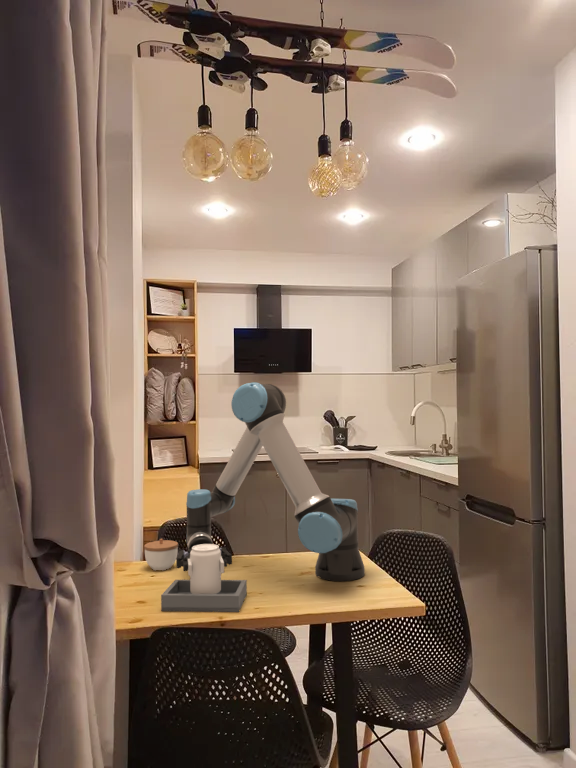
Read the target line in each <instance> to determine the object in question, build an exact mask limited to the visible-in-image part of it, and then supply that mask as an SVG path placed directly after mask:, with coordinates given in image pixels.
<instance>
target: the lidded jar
mask: <svg viewBox="0 0 576 768" xmlns="http://www.w3.org/2000/svg"><path fill="white" fill-rule="evenodd" d="M143 547H144V548H143V549H144V557H145V558H144V559H145V561H146V564H147V565H148V566H149V567H150V568H151V570H152V569H153V571H156V570H162V571H167V570H170V569H171V568H172V566H173V565H174V564H175V562H176V558H177V556H178V550H179V542H177V541H176V540H175V541H174V540H168V539H167V540H166V539H165V540H164V538H159V540H154V541H150V542H147V543H146V544H144V546H143ZM169 568H170V569H169ZM166 569H167V570H166Z"/></svg>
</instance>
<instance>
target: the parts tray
mask: <svg viewBox="0 0 576 768" xmlns="http://www.w3.org/2000/svg"><path fill="white" fill-rule="evenodd" d="M247 584H248V583H247V579H221V591H220V592H218V593H217V594H192V593H191V592H190V579H175V580H174V581H173V582H172V583H171V584H170V585H169V586H168V587H167V588H166V589H165V590H164V591H163V592H162V594H161V596H160V599H161V600H160V606H161V608H160V610H161V612H195V613H196V612H197V613H198V612H199V613H200V612H205V613H206V612H211V613H212V612H213V611H214V612H213V613H216V612H218V613H221V612H222V613H223V612H224V613H225V612H227V613H239V612H240V611H241V608H242V607H243V604H244V602H243V601H245V600H246V597H247V595H248V594H247V593H248V592H247V591H248V587H247ZM244 599H245V600H244ZM239 610H240V611H239Z"/></svg>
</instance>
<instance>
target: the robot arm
mask: <svg viewBox="0 0 576 768" xmlns="http://www.w3.org/2000/svg"><path fill="white" fill-rule="evenodd" d="M286 408H287V399H286V396H285V394H284V392H283V391H282V390H281V388H279V387H278V386H276V385H274V384H272V383H260V382H247V383H245V384H242V385H240V386H239V387H238V388H236V390H235V391H234V392H233V395H232V399H231V411H232V414H233V415H234V416H235V418H236V419H237V420H239V421H241V422H242V423H245V425H246V427H245V430H244V432H243V434H242V435H241V437H240V439H239V441H238V443H237V445H236V447H235V448H234V450H233V452H232V454H231V456H230V458H229V460H228V462H227V463H226V465H225V467H224V469H223V470H222V473H221V474H220V476H219V477H218V480H217V482H216V484H215V485H214V487H213V488H212V491H210V489H209V490H208V489H204V488H203V489H201V488H200V489H192V490H191V489H190V490H189V491H188V492H187V494H186V502H185V504H186V536H185V539H186V540H185V541H186V542H185V543H186V544H187V551H185V550H183V549H178V552H177V558H176V561H175V562H176V565H175V566H176V567H175V568H176V569H181V568H182V567H183V569H182V570H183V572H188V577H190V576H192V564H191V561H190V552H191V550H192V547H193V546H196V545H200V544H214V543H213V540H212V517H215V516H218V515H221V514H224V513H227V512H229V511H230V510H232V509H233V507H234V506H235V504H236V494H237V493H238V491H239V489H240V487H241V485H242V484H243V482H244V480H245V478H246V476H247V475H248V474H249V471H250V470H251V468H252V467H253V464H254V462H255V460H256V459H257V457H258V456H259V453H260V451H261V450H262V448H264V450H265V452H266V454H267V455H268V458H269V459H270V461H271V463H272V465H273V467H274V469H275V470H276V471H275V472H276V473H277V475H278V477H279V479H280V480H281V483H283V486H284V488H285V489H286V492H287V493H288V495H289V497H290V499H291V501H292V503H293V505H294V507H295V510H294V514H293V516H294V518H295V520H296V522H297V524H298V528H297V534H298V539H299V540H300V543H301V544H302V545H303V546H304V548H306V549H307V550H308V551H310V552H312V553H316V554H318V557H317V559H316V562H315V567H314V568H315V569H314V570H315V576H316V577H318V578H320V579H322V580H326V581H330V582H331V581H333V582H347V581H356V580H358V579H359V580H360V579H362V578H363V577H364V576H365V575H366V573H365V571H366V570H365V565H364V562H363V561H364V560H363V558H362V555H361V553H360V550H359V522H358V521H359V519H358V518H359V517H358V512H359V509H358V503H357V501H356V500H355V499H351V498H331V496H329V495H328V494H325V493H323V492H322V491H321V489H320V488H319V486H318V484H317V482H316V480H315V478H314V476H313V474H312V473H311V471H310V469H309V467H308V466H307V464H306V462H305V460H304V458H303V456H302V455H301V453H300V451H299V450H298V447H297V446H296V444H295V442H294V440H293V438H292V436H291V435H290V433H289V431H288V429H287V427H286V425H285V424H284V418H285V411H286ZM219 549H220V551H221V559H220V571H221V574H224V573H225V568H227V566H228V565H229V566H230V565H232V564H233V555H232V553H230V552H229V551H228V550H227V547H226V546H222V547H219Z"/></svg>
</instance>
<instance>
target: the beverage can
mask: <svg viewBox="0 0 576 768" xmlns="http://www.w3.org/2000/svg"><path fill="white" fill-rule="evenodd" d="M220 559H221V551H220V547H219V545H218V544H214V543H213V544H200V545H196V546H193V547H192V550H191V552H190V561H191V564H192V576H189V578H190V579H189V580H190V592H191V593H192V594H217V593H218V592H220V591H221V580H222V573H221V571H220Z"/></svg>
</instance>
